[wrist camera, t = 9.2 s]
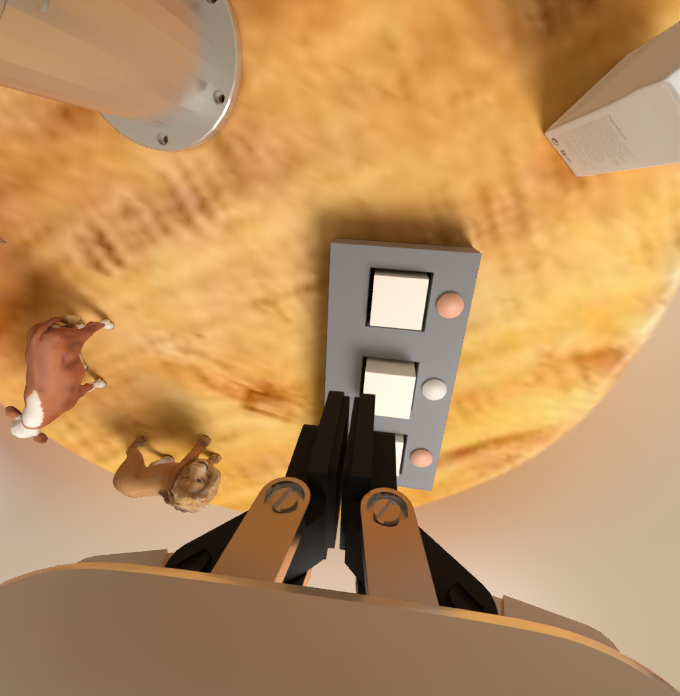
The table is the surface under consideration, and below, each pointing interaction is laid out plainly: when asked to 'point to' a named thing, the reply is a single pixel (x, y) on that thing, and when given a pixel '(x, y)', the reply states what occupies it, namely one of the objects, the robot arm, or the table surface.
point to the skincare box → (626, 113)
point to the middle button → (390, 386)
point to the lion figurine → (171, 477)
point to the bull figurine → (53, 374)
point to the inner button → (399, 298)
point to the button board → (402, 338)
